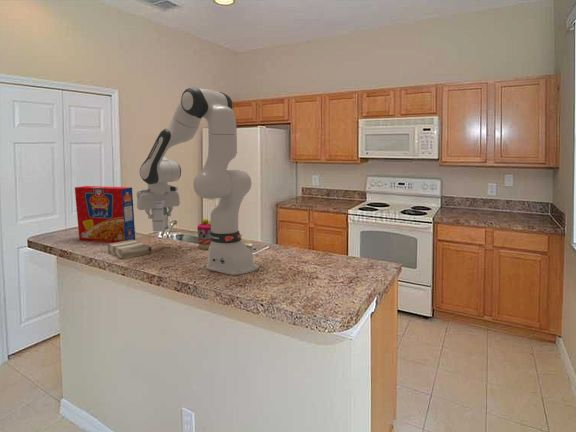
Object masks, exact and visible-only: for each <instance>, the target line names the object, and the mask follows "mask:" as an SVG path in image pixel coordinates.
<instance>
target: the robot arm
mask: <svg viewBox="0 0 576 432" xmlns="http://www.w3.org/2000/svg"><path fill="white" fill-rule="evenodd" d="M233 107H234V106H233V100H232V98H231V97H230V96H229V95H228V94H227V93H225V92H222V91H217V90H214V89H213V90H212V89H210V88H209V89H208V88H200V87H188V88H186V89H185V90H184V91H183V92H182V95H181V98H180V100H179V102H178V104H177V106H176V107H175V111H174V114H173V115H172V118H171V121H170V122H169V123H168V124H167V126H166V127H165V128H164V129H163V130H162V131H160V133H159V134H158V136H157V138H156V140H155V142H154V143H153V146H152V148H151V150H150V151H149V153H148V155H147V157H146V159H145V160H144V162H143V163H142V164H141V166H140V168H139V176H140V179H141V180H142V181H143V182H145V183H146V184H147V189H139V190H138V191H137V192H136V198H137V199H136V207H137V209H138V210H140V211H145V213H146V214H147V216H148V220H149V219H150V220H152V218H153V215H152V213H151V209H156V208H157V205H156V202H157V201H165V207H167V214H168V217H172V211H173V209H174V207H179V206H180V204H181V200H180V195H179V192H178V187H177V186H175V185H171V184H169V183H173V182H177V181H179V180H180V177H181V176H182V167H181V166H180V163H178V162H177V161H175V160H171V159H169V158H167V157H166V153H167V152H168V150H169V149H170V148H172V147H174V146H177V145H179V144H182V143H187V142H189V141H191V140H192V139H193V138H194V137H195V135H196V134H197V132H198V129H199V126H200V125H201V124H200V123H201V121H202V118H203V119H205V120H206V121H207V125H208V128H207V130H208V132H207V133H208V137H207V138H208V151H207V152H208V153H207V157H206V158H207V159H206V162H205V164H204V166H203V168H202V169H201V170H200V171H199V173H197V174H196V176H195V177H194V179H193V189H194V192H195V194H196V195H197V196H198V197H199V198H201V199H208V200H209V199H210V200H213V199H214V200H215V199H219V202H218V204H217V206H216V207H214V209H212V210H211V212H210V220H211V231H210V240H211V244H210V247H209V249H207V251H208V252H207V264H206V265H205V269H206V270H210V271H213V272H218V273H221V274H222V273H223V274H226V275H230V276H237V275H244V274H248V273H251V272H254V271H256V270H258V269H260V266H259V264H256V262H254V257H253V254H252V252H251V250H250V249H249V248H248V247H247V246H246V245H245V243H243V241H242V237H243V234H241V233H240V230H239V212H240V207H241V204H242V202H243V200H244V197H245V196H246V195H247V194H248V193H249V191H250V190H251V188H252V179H251V176H250V175H249V173H248V172H246V171H244V170H240V169H239V170H238V169H228V166H229V164H230V163H231V161H232V160H234V159H235V158H236V156H237V153H238V146H237V145H238V140H237V139H238V138H237V137H238V136H237V135H238V134H237V131H238V129H237V121H236V116H235V112H234V110H233Z"/></svg>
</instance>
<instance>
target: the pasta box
mask: <svg viewBox="0 0 576 432" xmlns="http://www.w3.org/2000/svg"><path fill="white" fill-rule="evenodd" d="M74 195H75V205H76V217H77V228H78V240H79V241H81V242H91V243H92V242H93V243H94V242H95V243H107V244H109V243H116V242H122V241H128V240H136V229H135V227H136V226H135V213H134V212H135V211H134V197H133V196H134V195H133V187H129V186H128V187H126V186H103V185H101V186H95V185H85V186H74Z"/></svg>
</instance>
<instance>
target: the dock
mask: <svg viewBox="0 0 576 432" xmlns="http://www.w3.org/2000/svg"><path fill="white" fill-rule="evenodd" d="M107 251H108V253H109V254H111V255H114V256H116V257H118V258H120V259H122V260H124V259H129V258H135V257H139V256H146V255H150V252H152V247H151V246H149V244H145V243H143V242H140V241H138V240H136V239H135V240H128V241H122V242H116V243H107Z"/></svg>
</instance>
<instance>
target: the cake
mask: <svg viewBox="0 0 576 432" xmlns="http://www.w3.org/2000/svg"><path fill="white" fill-rule="evenodd" d="M210 231H211V219H210V220H209V219H208V218H203V219H202V220H201V223H199V224H198V225H197V236H198V238H197V241H198V248H199V249H200V250H209V247H210V244H211V240H210Z"/></svg>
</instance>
